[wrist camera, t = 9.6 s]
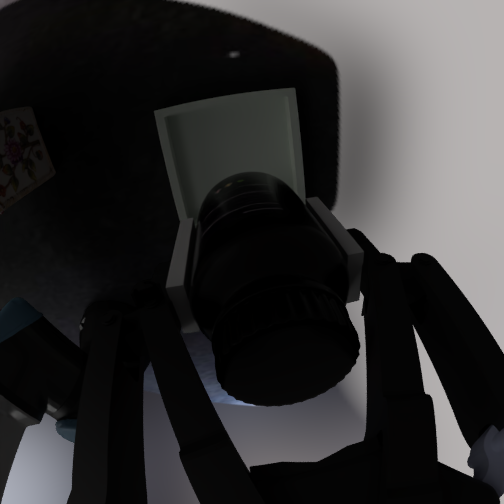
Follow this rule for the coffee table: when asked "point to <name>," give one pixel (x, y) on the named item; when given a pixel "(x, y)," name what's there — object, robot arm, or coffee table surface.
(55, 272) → the coffee table surface
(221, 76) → the coffee table surface
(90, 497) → the robot arm
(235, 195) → the supplement bottle
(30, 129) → the decorative jar
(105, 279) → the coffee table surface
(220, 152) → the sage tray
